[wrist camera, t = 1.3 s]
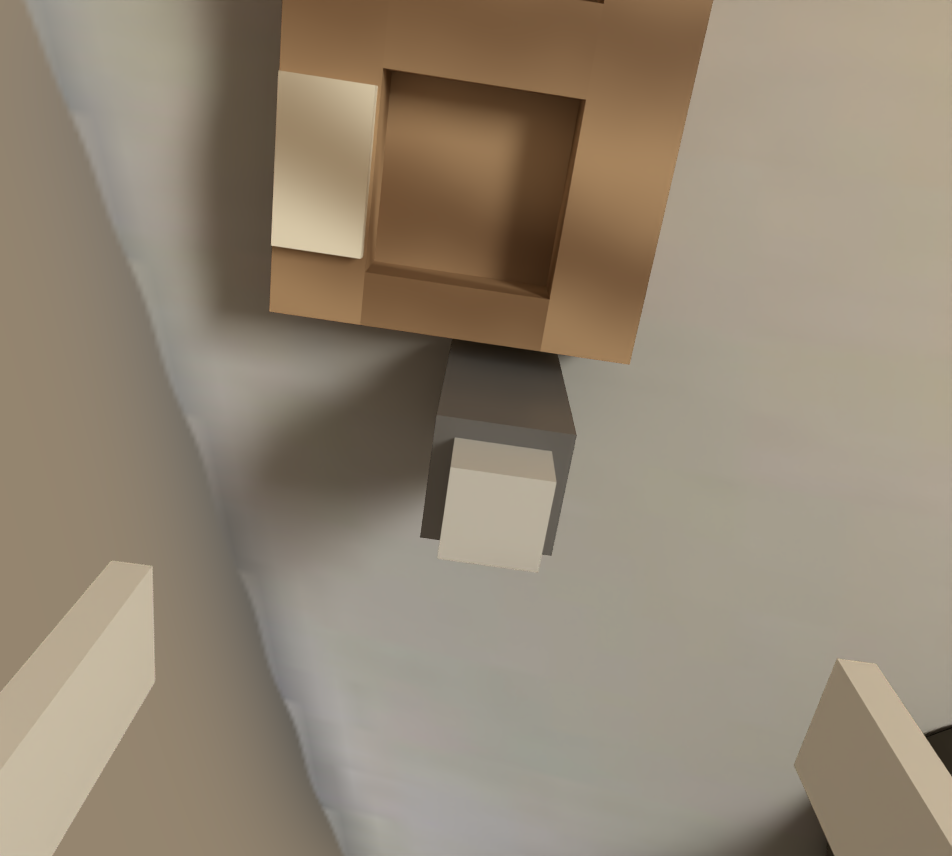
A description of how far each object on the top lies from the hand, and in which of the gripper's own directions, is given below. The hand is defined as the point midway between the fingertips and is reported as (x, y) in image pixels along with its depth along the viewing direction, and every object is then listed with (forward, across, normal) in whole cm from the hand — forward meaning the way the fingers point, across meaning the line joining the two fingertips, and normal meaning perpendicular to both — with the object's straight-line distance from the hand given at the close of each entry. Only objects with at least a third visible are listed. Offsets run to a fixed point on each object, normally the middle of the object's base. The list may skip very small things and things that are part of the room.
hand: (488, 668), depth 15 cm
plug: (+16, 0, 0) cm, 16 cm away
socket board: (+16, +2, -12) cm, 20 cm away
